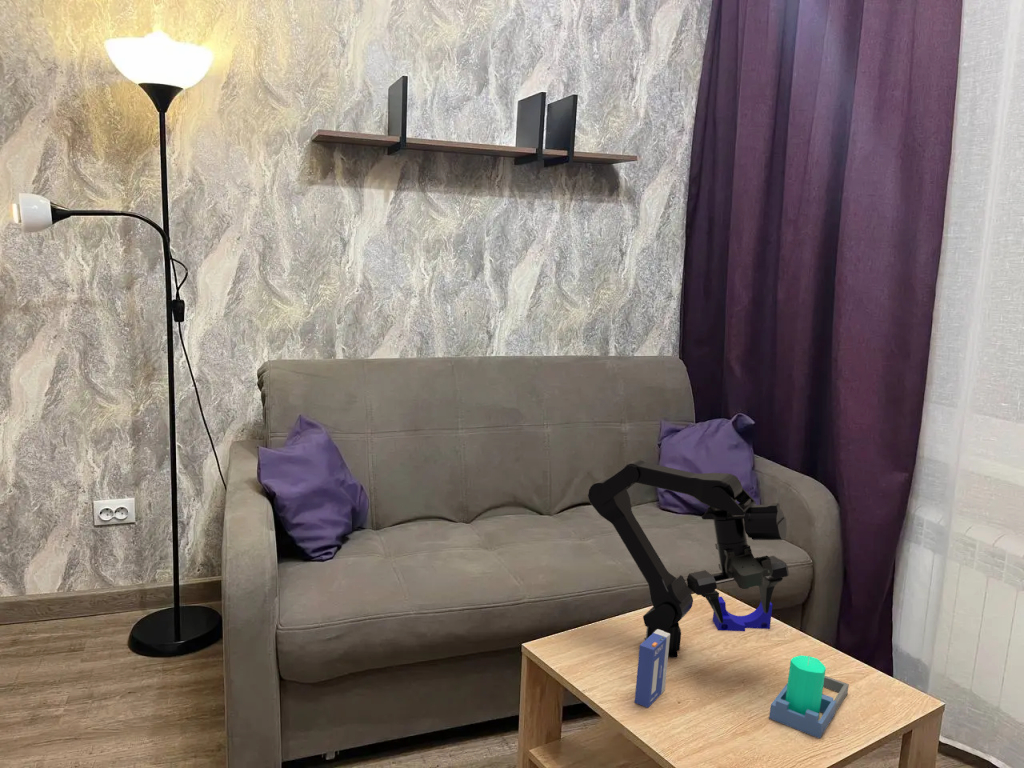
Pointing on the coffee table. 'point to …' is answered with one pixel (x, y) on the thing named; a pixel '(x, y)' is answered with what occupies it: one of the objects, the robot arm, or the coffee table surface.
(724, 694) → the coffee table surface
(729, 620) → the cable clip
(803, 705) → the candle
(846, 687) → the frame
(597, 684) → the coffee table surface
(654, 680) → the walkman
